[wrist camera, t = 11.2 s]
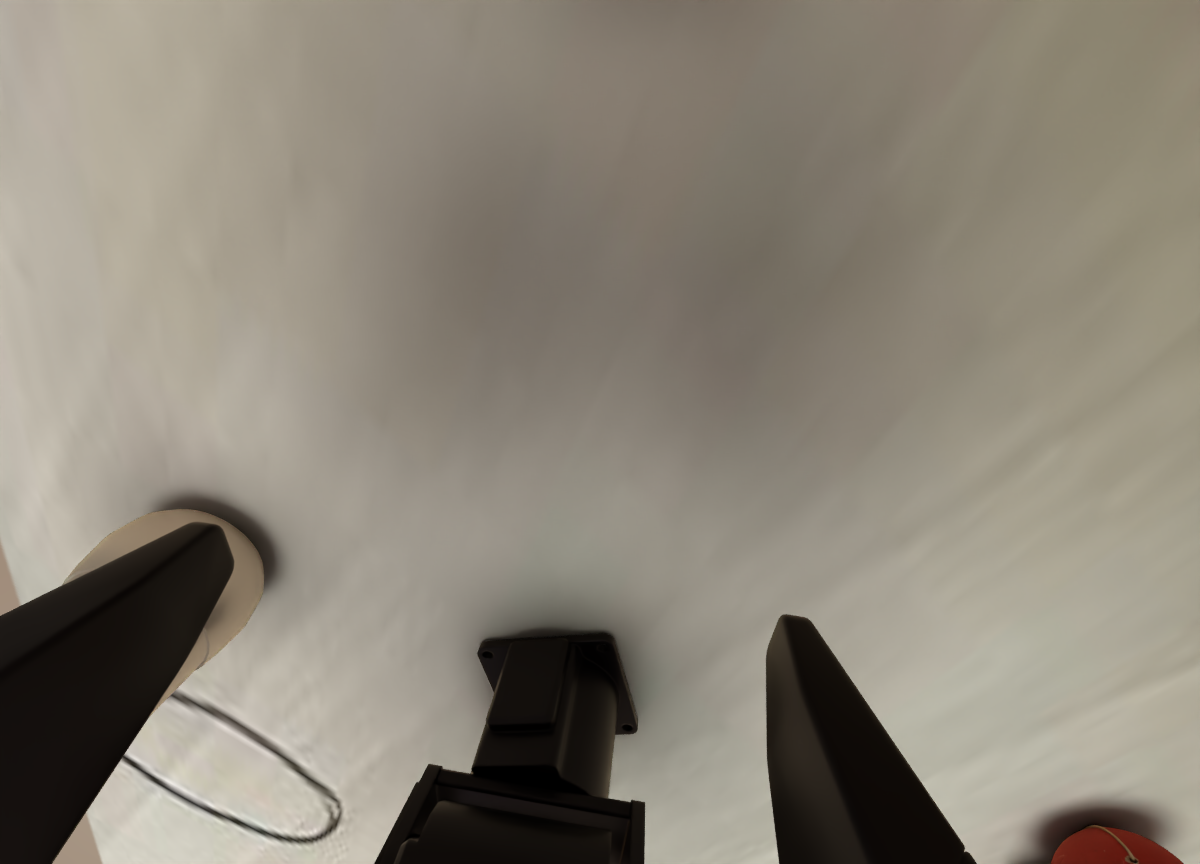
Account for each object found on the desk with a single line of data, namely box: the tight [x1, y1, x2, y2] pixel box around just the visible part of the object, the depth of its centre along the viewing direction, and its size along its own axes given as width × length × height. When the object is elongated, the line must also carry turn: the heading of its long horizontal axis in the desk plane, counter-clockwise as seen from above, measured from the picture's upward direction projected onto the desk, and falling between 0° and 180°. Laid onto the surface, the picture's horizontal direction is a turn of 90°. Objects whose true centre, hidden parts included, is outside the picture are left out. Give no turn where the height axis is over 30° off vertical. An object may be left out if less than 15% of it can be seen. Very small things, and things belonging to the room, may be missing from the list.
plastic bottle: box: [62, 509, 264, 717], centre depth 19 cm, size 6×7×20 cm
